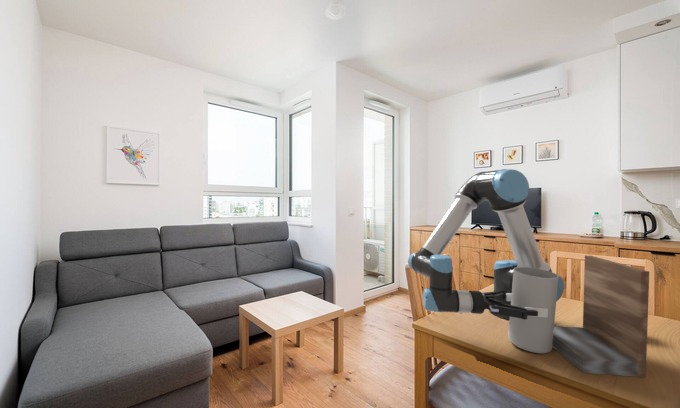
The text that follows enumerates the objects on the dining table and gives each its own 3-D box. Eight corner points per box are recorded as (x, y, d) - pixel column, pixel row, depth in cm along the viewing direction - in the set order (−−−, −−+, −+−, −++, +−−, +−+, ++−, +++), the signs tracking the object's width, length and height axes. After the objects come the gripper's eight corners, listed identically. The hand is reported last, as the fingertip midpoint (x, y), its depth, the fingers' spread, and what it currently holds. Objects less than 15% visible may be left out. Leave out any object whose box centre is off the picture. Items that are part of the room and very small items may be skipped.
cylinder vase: (561, 355, 92) (568, 279, 90) (521, 353, 93) (527, 277, 91) (536, 335, 105) (542, 267, 103) (501, 333, 105) (506, 266, 103)
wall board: (582, 372, 83) (585, 269, 83) (539, 336, 105) (541, 254, 104) (645, 377, 81) (649, 271, 81) (588, 338, 103) (591, 255, 102)
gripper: (459, 299, 113) (517, 302, 110) (482, 328, 88) (558, 332, 85) (459, 280, 112) (517, 283, 110) (482, 304, 88) (558, 307, 85)
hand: (535, 304), depth 98 cm, fingers closed on cylinder vase, 12 cm apart
